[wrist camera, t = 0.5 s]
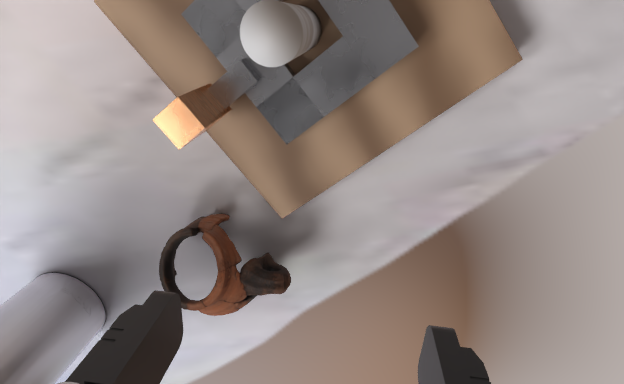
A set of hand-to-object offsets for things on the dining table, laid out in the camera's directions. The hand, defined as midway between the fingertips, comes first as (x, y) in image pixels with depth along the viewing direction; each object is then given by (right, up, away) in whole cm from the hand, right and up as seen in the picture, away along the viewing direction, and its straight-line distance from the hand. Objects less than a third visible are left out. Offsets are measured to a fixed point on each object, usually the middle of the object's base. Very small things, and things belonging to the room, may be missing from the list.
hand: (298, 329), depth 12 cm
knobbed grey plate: (-2, +15, +15) cm, 22 cm away
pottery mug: (-7, -2, +26) cm, 27 cm away
